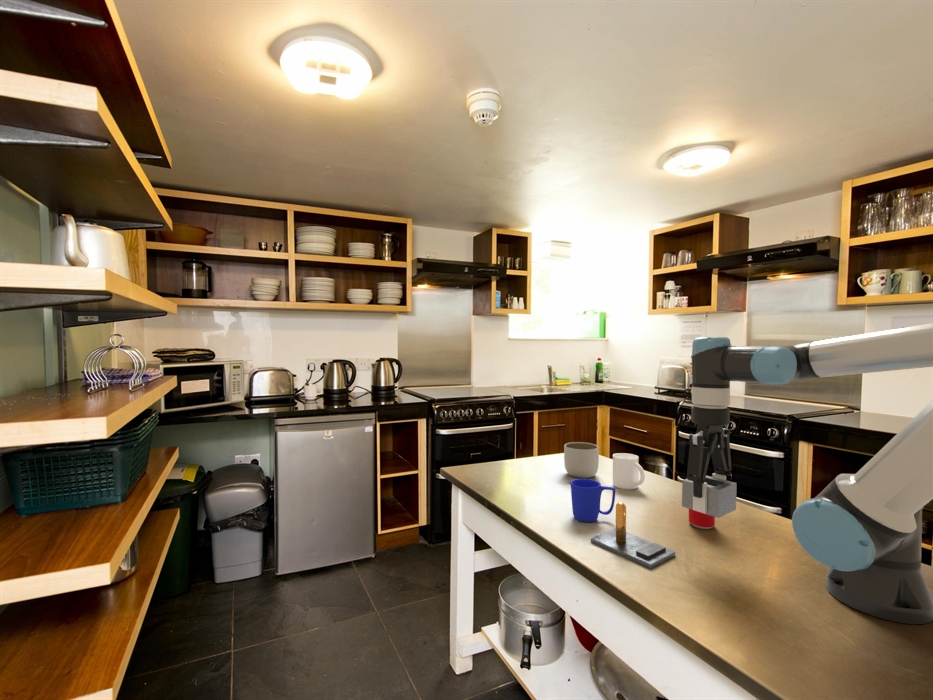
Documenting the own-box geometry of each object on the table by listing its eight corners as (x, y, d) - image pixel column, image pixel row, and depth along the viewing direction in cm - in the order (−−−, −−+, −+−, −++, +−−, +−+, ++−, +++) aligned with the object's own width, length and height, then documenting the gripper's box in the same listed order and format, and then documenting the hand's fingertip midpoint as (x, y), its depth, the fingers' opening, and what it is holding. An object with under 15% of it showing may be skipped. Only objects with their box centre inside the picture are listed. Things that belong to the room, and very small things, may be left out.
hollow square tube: (736, 509, 99) (736, 483, 99) (718, 518, 95) (719, 490, 94) (699, 499, 106) (700, 474, 106) (681, 506, 101) (682, 480, 101)
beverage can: (717, 525, 120) (717, 480, 119) (711, 532, 115) (711, 486, 115) (692, 519, 124) (692, 476, 124) (685, 525, 119) (685, 481, 119)
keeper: (675, 555, 103) (675, 511, 102) (650, 568, 97) (650, 522, 97) (615, 532, 116) (616, 492, 115) (590, 542, 110) (590, 501, 110)
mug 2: (652, 490, 147) (653, 459, 147) (634, 494, 144) (634, 463, 144) (625, 480, 158) (625, 452, 158) (607, 484, 154) (607, 454, 154)
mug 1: (617, 526, 119) (617, 489, 119) (570, 523, 121) (570, 486, 121) (613, 515, 127) (613, 480, 127) (570, 512, 129) (570, 477, 129)
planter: (557, 475, 165) (557, 445, 165) (576, 468, 174) (576, 440, 174) (586, 482, 156) (586, 451, 156) (605, 475, 165) (605, 445, 165)
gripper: (715, 400, 109) (715, 493, 109) (668, 408, 97) (668, 512, 97) (749, 403, 103) (748, 502, 103) (703, 412, 91) (703, 523, 91)
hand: (709, 506), depth 100 cm, fingers closed on hollow square tube, 8 cm apart
